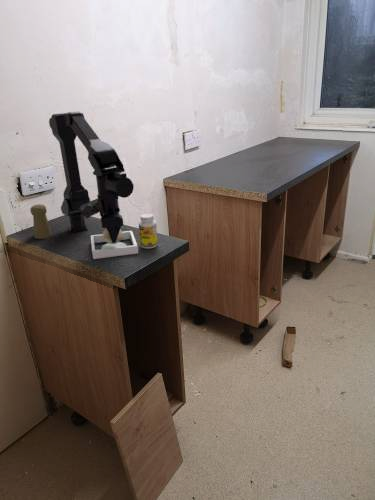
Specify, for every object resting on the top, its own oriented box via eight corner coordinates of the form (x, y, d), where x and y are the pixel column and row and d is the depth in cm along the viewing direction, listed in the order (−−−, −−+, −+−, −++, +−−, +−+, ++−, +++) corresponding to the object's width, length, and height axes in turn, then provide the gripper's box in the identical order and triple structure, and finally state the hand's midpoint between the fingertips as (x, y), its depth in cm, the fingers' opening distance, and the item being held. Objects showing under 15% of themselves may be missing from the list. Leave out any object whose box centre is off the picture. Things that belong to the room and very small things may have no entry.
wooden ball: (122, 238, 130) (120, 221, 127) (124, 245, 124) (122, 227, 122) (103, 241, 129) (101, 223, 126) (104, 248, 123) (102, 230, 121)
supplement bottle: (136, 247, 127) (134, 217, 123) (146, 241, 131) (144, 211, 127) (151, 250, 124) (149, 219, 120) (161, 244, 129) (159, 214, 125)
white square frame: (91, 242, 132) (90, 235, 131) (132, 237, 135) (131, 230, 134) (93, 259, 120) (92, 251, 119) (138, 253, 122) (137, 245, 121)
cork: (46, 231, 143) (40, 201, 138) (55, 234, 139) (50, 204, 135) (30, 236, 139) (24, 206, 134) (40, 240, 135) (34, 209, 131)
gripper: (79, 186, 126) (86, 231, 132) (80, 202, 110) (87, 253, 116) (115, 182, 129) (119, 228, 135) (120, 198, 112) (126, 249, 118)
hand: (113, 239), depth 126 cm, fingers closed on wooden ball, 6 cm apart
